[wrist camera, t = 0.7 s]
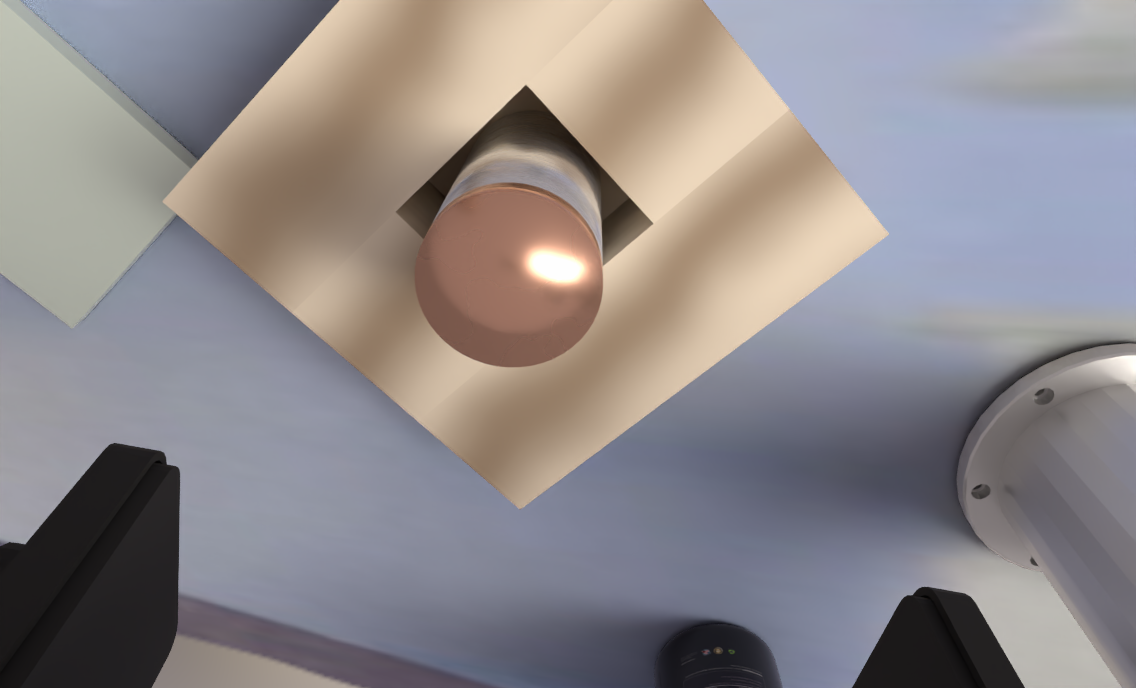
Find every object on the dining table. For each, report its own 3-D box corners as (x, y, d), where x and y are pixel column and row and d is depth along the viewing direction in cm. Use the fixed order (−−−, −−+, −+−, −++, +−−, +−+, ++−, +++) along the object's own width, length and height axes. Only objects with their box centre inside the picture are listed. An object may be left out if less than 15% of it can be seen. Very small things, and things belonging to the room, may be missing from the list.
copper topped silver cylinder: (628, 182, 34) (642, 290, 24) (532, 266, 36) (507, 399, 26) (535, 80, 32) (509, 151, 22) (439, 174, 34) (375, 278, 24)
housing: (843, 185, 35) (888, 234, 29) (529, 431, 40) (520, 509, 35) (542, -192, 29) (530, -217, 24) (228, 158, 35) (162, 201, 29)
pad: (214, 174, 35) (204, 180, 34) (84, 319, 38) (71, 328, 38) (0, -17, 32) (-16, -15, 31) (-121, 159, 35) (-140, 165, 34)
